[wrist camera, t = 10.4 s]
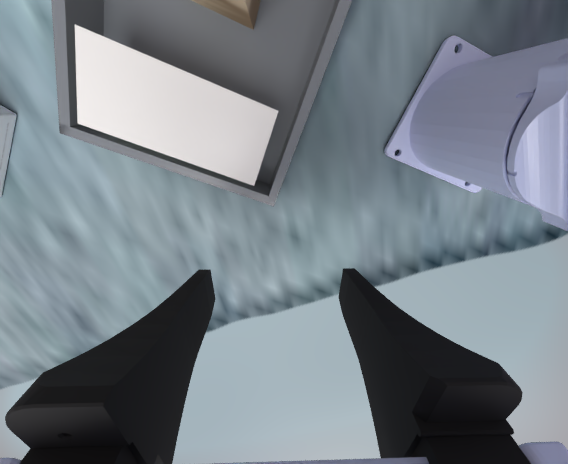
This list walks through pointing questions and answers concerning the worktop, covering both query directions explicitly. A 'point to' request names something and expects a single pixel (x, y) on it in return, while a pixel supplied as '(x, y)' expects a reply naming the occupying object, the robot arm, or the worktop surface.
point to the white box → (169, 109)
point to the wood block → (234, 9)
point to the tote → (211, 67)
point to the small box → (5, 140)
